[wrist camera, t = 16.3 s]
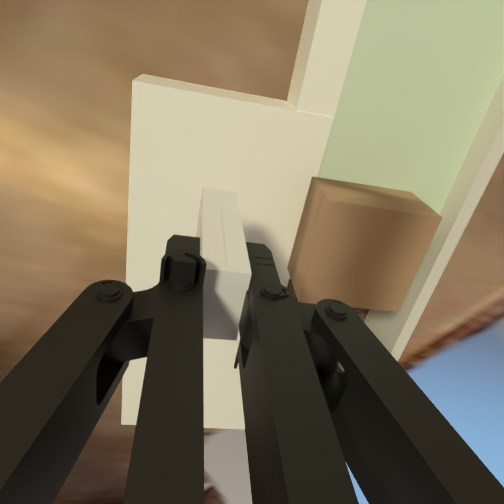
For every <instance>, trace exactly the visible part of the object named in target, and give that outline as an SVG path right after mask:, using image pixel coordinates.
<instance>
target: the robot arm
mask: <svg viewBox="0 0 504 504" xmlns="http://www.w3.org/2000/svg"><path fill="white" fill-rule="evenodd" d="M238 331H239V333H240V342H239V346H238V350H237V354H236V358H235V363H234V369H237V366H238V363H239V373H240V383H241V393H242V403H243V413H244V423H245V433H246V443H247V453H248V463H249V473H250V483H251V493H252V502H253V504H359V503H358V500H357V497H356V494H355V491H354V487H353V484H352V481H351V478H350V475H349V472H348V469H347V466H346V463H347V465H348V467H349V468H350V470H351V472H352V474H353V476H354V478H355V479H356V481H357V483H358V485H359V487H360V488H361V490H362V492H363V494H364V496H365V497H366V499H367V501H368V503H369V504H504V488H503V486H502V485H501V484H500V483H499V481H498V480H497V479H496V478H495V477H494V475H493V474H492V473H491V472H490V471H489V470H488V468H487V467H486V466H485V465H484V464H483V462H482V461H481V460H480V459H479V458H478V456H477V455H476V454H475V453H474V452H473V451H472V449H471V448H470V447H469V446H468V445H467V444H466V442H465V441H464V440H463V439H462V438H461V436H460V435H459V434H458V433H457V432H456V431H455V430H454V428H453V427H452V426H451V425H450V423H449V422H448V421H447V420H446V419H445V417H444V416H443V415H442V414H441V413H440V412H439V410H438V409H437V408H436V407H435V406H434V404H433V403H432V402H431V401H430V400H429V399H428V397H427V396H426V395H425V394H424V393H423V391H422V390H421V389H420V388H419V387H418V385H417V384H416V383H415V382H414V381H413V380H412V378H411V377H410V376H409V375H408V374H407V372H406V371H405V370H404V369H403V368H402V367H401V365H400V364H399V363H398V362H397V361H396V359H395V358H394V357H393V356H392V355H391V354H390V352H389V351H388V350H387V349H386V348H385V346H384V345H383V344H382V343H381V342H380V341H379V339H378V338H377V337H376V336H375V335H374V333H373V332H372V331H371V330H370V329H369V327H368V326H367V325H366V324H365V323H364V322H363V320H362V319H361V318H360V317H359V316H358V314H357V313H356V312H355V311H354V310H353V309H352V308H351V307H350V306H349V305H347V304H345V303H343V302H341V301H338V300H334V299H323V300H320V301H319V302H318V303H317V304H316V307H315V308H314V307H310V306H307V305H304V304H301V303H298V302H296V301H294V300H293V297H292V294H291V292H290V291H289V290H288V289H287V288H286V287H285V286H283V285H281V282H280V279H279V276H278V272H277V269H276V266H275V262H274V260H273V255H272V252H271V250H270V249H269V248H268V247H267V246H266V245H265V244H260V243H251V242H246V241H245V236H244V231H243V226H242V221H241V215H240V210H239V205H238V200H237V195H236V192H234V191H227V190H220V189H213V188H205V187H202V195H201V202H200V209H199V217H198V224H197V231H196V237H191V236H183V235H173V236H172V237H171V238H169V239H168V240H167V245H166V251H165V255H164V256H163V258H162V259H161V268H160V280H159V283H158V284H157V285H155V286H154V287H152V288H150V289H147V290H142V291H136V292H133V291H132V288H131V287H130V286H129V285H127V284H126V283H123V282H121V281H116V280H103V281H98V282H96V283H93V284H91V285H90V286H88V287H87V288H86V289H85V290H84V291H83V292H82V293H81V294H80V295H79V296H78V298H77V299H76V300H75V301H74V302H73V303H72V304H71V305H70V306H69V307H68V309H67V310H66V311H65V312H64V313H63V314H62V315H61V316H60V317H59V319H58V320H57V321H56V322H55V323H54V324H53V325H52V326H51V327H50V328H49V330H48V331H47V332H46V333H45V334H44V335H43V336H42V337H41V338H40V340H39V341H38V342H37V343H36V344H35V345H34V346H33V347H32V348H31V350H30V351H29V352H28V353H27V354H26V355H25V356H24V357H23V358H22V359H21V361H20V362H19V363H18V364H17V365H16V366H15V367H14V368H13V369H12V371H11V372H10V373H9V374H8V375H7V376H6V377H5V378H4V379H3V380H2V382H1V383H0V504H52V503H53V501H54V500H55V498H56V496H57V494H58V492H59V491H60V489H61V487H62V485H63V483H64V482H65V480H66V478H67V476H68V474H69V473H70V471H71V469H72V467H73V465H74V463H75V462H76V460H77V458H78V456H79V454H80V453H81V451H82V449H83V447H84V445H85V444H86V442H87V440H88V438H89V436H90V435H91V433H92V431H93V429H94V427H95V426H96V424H97V422H98V420H99V418H100V417H101V415H102V413H103V411H104V409H105V408H106V406H107V404H108V402H109V400H110V398H111V397H112V395H113V393H114V391H115V389H116V388H117V386H118V384H119V382H120V380H121V379H122V377H123V375H124V373H125V371H126V370H127V368H128V366H129V362H130V360H135V359H140V358H145V357H147V361H146V367H145V373H144V379H143V386H142V392H141V398H140V404H139V410H138V416H137V422H136V429H135V435H134V441H133V447H132V453H131V459H130V466H129V472H128V478H127V484H126V490H125V496H124V502H123V504H204V393H203V338H207V339H222V340H237V336H238ZM339 363H340V364H341V366H342V367H343V369H344V371H343V370H342V369H341V368H340V366H339V365H338V364H339ZM345 461H346V462H345Z"/></svg>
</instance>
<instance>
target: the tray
mask: <svg viewBox="0 0 504 504" xmlns="http://www.w3.org/2000/svg"><path fill="white" fill-rule="evenodd" d="M503 153H504V0H309V1H308V6H307V10H306V15H305V20H304V24H303V29H302V33H301V38H300V43H299V47H298V52H297V56H296V61H295V66H294V70H293V75H292V79H291V84H290V89H289V93H288V98H287V101H284V100H279V99H273V98H268V97H263V96H257V95H252V94H247V93H241V92H236V91H231V90H225V89H220V88H215V87H209V86H204V85H199V84H194V83H188V82H183V81H178V80H172V79H167V78H162V77H156V76H151V75H146V74H142V75H140V76H139V77H137V78H136V79H134V80H133V81H132V112H131V142H130V173H129V203H128V234H127V264H126V284H127V285H129V286H130V287H131V288H132V291H133V292H136V291H142V290H147V289H150V288H152V287H154V286H155V285H157V284H158V283H159V280H160V268H161V259H162V258H163V256H164V255H165V251H166V245H167V240H168V239H169V238H171V237H172V236H173V235H183V236H191V237H196V231H197V224H198V217H199V209H200V202H201V195H202V187H205V188H213V189H220V190H227V191H234V192H236V195H237V200H238V205H239V210H240V215H241V221H242V226H243V231H244V236H245V241H246V242H251V243H260V244H265V245H266V246H267V247H268V248H269V249H270V250H271V252H272V255H273V260H274V262H275V266H276V269H277V272H278V276H279V279H280V282H281V285H283V286H285V287H286V288H287V285H288V282H289V279H291V278H290V275H289V272H288V269H287V266H288V263H289V259H290V255H291V252H292V248H293V245H294V241H295V237H296V234H297V230H298V226H299V223H300V219H301V215H302V212H303V208H304V204H305V201H306V197H307V193H308V190H309V186H310V182H311V179H312V176H313V177H319V178H326V179H332V180H338V181H345V182H351V183H358V184H364V185H371V186H377V187H384V188H390V189H396V190H403V191H409V192H412V193H413V194H414V195H416V196H417V197H418V198H419V199H421V200H422V201H423V202H424V203H425V204H427V205H428V206H429V207H430V208H432V209H433V210H434V211H435V212H436V213H438V214H439V215H440V216H441V217H443V218H442V220H441V222H440V224H439V226H438V229H437V231H436V233H435V235H434V237H433V239H432V241H431V244H430V246H429V248H428V250H427V252H426V254H425V256H424V258H423V261H422V263H421V265H420V267H419V269H418V271H417V273H416V275H415V278H414V280H413V282H412V284H411V286H410V288H409V290H408V292H407V295H406V297H405V299H404V301H403V303H402V305H401V307H400V309H399V312H395V311H385V310H374V309H369V311H368V313H367V316H366V318H365V321H364V323H365V324H366V325H367V326H368V327H369V329H370V330H371V331H372V332H373V333H374V335H375V336H376V337H377V338H378V339H379V341H380V342H381V343H382V344H383V345H384V346H385V348H386V349H387V350H388V351H389V352H390V354H391V355H392V356H393V357H394V358H395V359H396V361H397V362H398V360H399V358H400V356H401V354H402V352H403V350H404V348H405V346H406V344H407V342H408V340H409V338H410V336H411V334H412V332H413V330H414V328H415V326H416V324H417V323H418V321H419V319H420V317H421V315H422V313H423V311H424V309H425V307H426V305H427V303H428V301H429V299H430V297H431V295H432V293H433V291H434V289H435V287H436V285H437V283H438V281H439V279H440V277H441V275H442V273H443V271H444V269H445V267H446V265H447V263H448V261H449V259H450V257H451V255H452V253H453V251H454V249H455V247H456V245H457V243H458V242H459V240H460V238H461V236H462V234H463V232H464V230H465V228H466V226H467V224H468V222H469V220H470V218H471V216H472V214H473V212H474V210H475V208H476V206H477V204H478V202H479V200H480V198H481V196H482V194H483V192H484V190H485V188H486V186H487V184H488V182H489V180H490V178H491V176H492V174H493V172H494V170H495V168H496V166H497V164H498V162H499V161H500V159H501V157H502V155H503ZM239 342H240V333H239V331H238V336H237V340H222V339H207V338H203V393H204V428H224V429H245V423H244V413H243V403H242V393H241V383H240V373H239V363H238V366H237V369H234V363H235V358H236V354H237V350H238V346H239ZM146 361H147V357H145V358H140V359H135V360H130V362H129V366H128V368H127V370H126V371H125V373H124V375H123V386H122V417H121V425H136V422H137V416H138V410H139V404H140V398H141V392H142V386H143V379H144V373H145V367H146ZM338 365H339V366H340V368H341V369H342V370H343V371H344V369H343V367H342V366H341V364H340V363H339V364H338Z"/></svg>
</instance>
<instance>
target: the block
mask: <svg viewBox="0 0 504 504" xmlns="http://www.w3.org/2000/svg"><path fill="white" fill-rule="evenodd" d="M442 218H443V217H441V216H440V215H439V214H438V213H436V212H435V211H434V210H433V209H432V208H430V207H429V206H428V205H427V204H425V203H424V202H423V201H422V200H421V199H419V198H418V197H417V196H416V195H414V194H413V193H412V192H409V191H403V190H396V189H390V188H384V187H377V186H371V185H364V184H358V183H351V182H345V181H338V180H332V179H326V178H319V177H313V176H312V179H311V182H310V186H309V190H308V193H307V197H306V201H305V204H304V208H303V212H302V215H301V219H300V223H299V226H298V230H297V234H296V237H295V241H294V245H293V248H292V252H291V255H290V259H289V263H288V266H287V269H288V272H289V275H290V278H291V281H292V284H293V288H294V291H295V294H296V297H297V300H298V302H300V303H310V304H317V303H318V302H319V301H320V300H323V299H334V300H338V301H341V302H343V303H345V304H347V305H349V306H350V307H353V308H364V309H374V310H385V311H395V312H399V309H400V307H401V305H402V303H403V301H404V299H405V297H406V295H407V292H408V290H409V288H410V286H411V284H412V282H413V280H414V278H415V275H416V273H417V271H418V269H419V267H420V265H421V263H422V261H423V258H424V256H425V254H426V252H427V250H428V248H429V246H430V244H431V241H432V239H433V237H434V235H435V233H436V231H437V229H438V226H439V224H440V222H441V220H442Z"/></svg>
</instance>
